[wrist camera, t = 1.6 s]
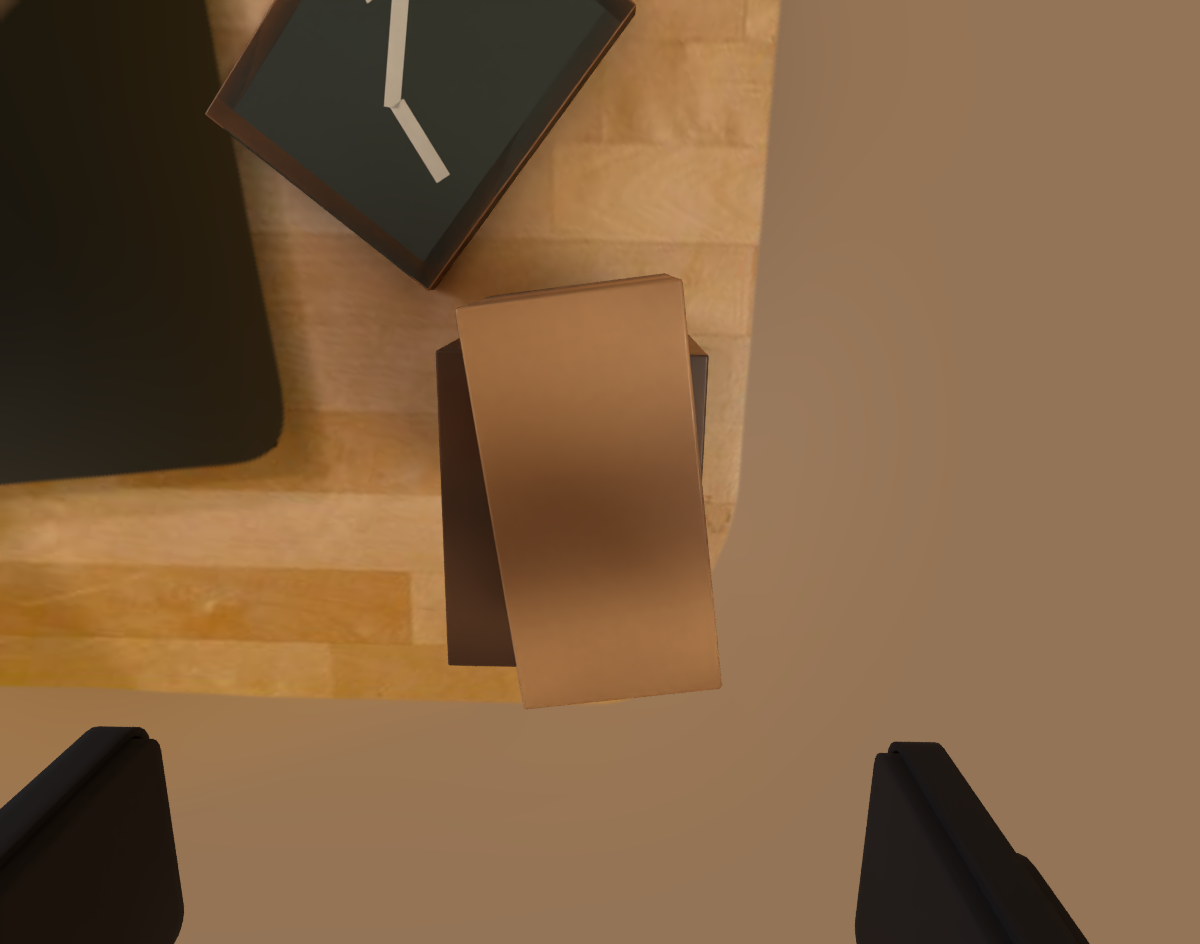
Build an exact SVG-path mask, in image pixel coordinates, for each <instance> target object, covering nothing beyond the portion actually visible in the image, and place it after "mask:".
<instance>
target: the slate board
mask: <svg viewBox="0 0 1200 944" xmlns="http://www.w3.org/2000/svg"><path fill="white" fill-rule="evenodd" d="M635 11H636V5H635V4H634V3H633V2H632V1H631V0H275V1H274V2H273V4H272V6H271V7H270V9H269V11H268V12H267V14H266V16H265V17H264V19H263V20H262V22H261V24H260V25H259V27H258V29H257V30H256V32H255V33H254V35H253V37H252V38H251V40H250V42H249V43H248V45H247V46H246V48H245V50H244V51H243V53H242V55H241V56H240V58H239V60H238V61H237V63H236V64H235V66H234V68H233V69H232V71H231V73H230V74H229V76H228V77H227V79H226V81H225V82H224V84H223V86H222V87H221V89H220V90H219V92H218V94H217V95H216V97H215V99H214V100H213V102H212V104H211V106H210V107H209V108H208V110H207V112H206V115H207V116H208V117H209V118H211V119H212V120H213V121H214V122H216V123H217V124H218V125H219V126H221V127H222V128H223V129H224V130H226V131H227V132H228V133H229V134H231V135H232V136H233V137H235V138H236V139H237V140H238V141H240V142H241V143H242V144H243V145H245V146H246V147H247V148H248V149H250V150H251V151H252V152H253V153H255V154H256V155H257V156H259V157H260V158H261V159H262V160H264V161H265V162H266V163H267V164H269V165H270V166H271V167H272V168H274V169H275V170H276V171H277V172H279V173H280V174H281V175H282V176H284V177H285V178H286V179H288V180H289V181H290V182H291V183H293V184H294V185H295V186H296V187H298V188H299V189H300V190H301V191H303V192H304V193H305V194H306V195H308V196H309V197H310V198H312V199H313V200H314V201H315V202H317V203H318V204H319V205H320V206H322V207H323V208H324V209H325V210H327V211H328V212H329V213H330V214H332V215H333V216H334V217H336V218H337V219H338V220H339V221H341V222H342V223H343V224H344V225H346V226H347V227H348V228H349V229H351V230H352V231H353V232H354V233H356V234H357V235H358V236H360V237H361V238H362V239H363V240H365V241H366V242H367V243H368V244H370V245H371V246H372V247H373V248H375V249H376V250H377V251H378V252H380V253H381V254H382V255H384V256H385V257H386V258H387V259H389V260H390V261H391V262H392V263H394V264H395V265H396V266H397V267H399V268H400V269H401V270H402V271H404V272H405V273H406V274H407V275H409V276H410V277H411V278H412V279H414V280H415V281H416V282H417V283H419V284H420V285H421V286H423V287H424V288H425V289H426V290H428V291H430V290H434V289H435V288H436V286H437V285H438V284H439V282H440V281H441V280H442V278H443V277H444V276H445V274H446V273H447V271H448V270H449V269H450V267H451V266H452V265H453V263H454V262H455V260H456V259H457V258H458V256H459V255H460V254H461V252H462V251H463V249H464V248H465V247H466V245H467V244H468V243H469V241H470V240H471V239H472V237H473V236H474V234H475V233H476V232H477V230H478V229H479V228H480V226H481V225H482V223H483V222H484V221H485V219H486V218H487V217H488V215H489V214H490V212H491V211H492V210H493V208H494V207H495V206H496V204H497V203H498V201H499V200H500V199H501V197H502V196H503V195H504V193H505V192H506V191H507V189H508V188H509V186H510V185H511V184H512V182H513V181H514V180H515V178H516V177H517V175H518V174H519V173H520V171H521V170H522V169H523V167H524V166H525V164H526V163H527V162H528V160H529V159H530V158H531V156H532V155H533V154H534V152H535V151H536V149H537V148H538V147H539V145H540V144H541V143H542V141H543V140H544V138H545V137H546V136H547V134H548V133H549V132H550V130H551V129H552V127H553V126H554V125H555V123H556V122H557V121H558V119H559V118H560V117H561V115H562V114H563V112H564V111H565V110H566V108H567V107H568V106H569V104H570V103H571V101H572V100H573V99H574V97H575V96H576V95H577V93H578V92H579V90H580V89H581V88H582V86H583V85H584V84H585V82H586V81H587V79H588V78H589V77H590V75H591V74H592V73H593V71H594V70H595V69H596V67H597V66H598V64H599V63H600V62H601V60H602V59H603V58H604V56H605V55H606V53H607V52H608V51H609V49H610V48H611V47H612V45H613V44H614V42H615V41H616V40H617V38H618V37H619V36H620V34H621V33H622V32H623V30H624V29H625V27H626V26H627V25H628V23H629V22H630V21H631V19H632V18H633V16H634V15H635Z"/></svg>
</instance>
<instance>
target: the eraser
mask: <svg viewBox="0 0 1200 944" xmlns="http://www.w3.org/2000/svg"><path fill="white" fill-rule="evenodd" d="M455 314H456V319H457V325H458V331H459V337H460V342H461V348H462V354H463V360H464V366H465V371H466V377H467V383H468V389H469V394H470V400H471V406H472V412H473V418H474V423H475V429H476V435H477V441H478V446H479V452H480V458H481V464H482V470H483V475H484V481H485V487H486V493H487V498H488V504H489V510H490V516H491V522H492V527H493V533H494V539H495V545H496V550H497V556H498V562H499V568H500V574H501V579H502V585H503V591H504V597H505V602H506V608H507V614H508V620H509V625H510V631H511V637H512V643H513V649H514V654H515V660H516V666H517V672H518V677H519V683H520V689H521V695H522V701H523V706H524V708H525V709H532V708H541V707H551V706H561V705H570V704H580V703H589V702H599V701H608V700H618V699H627V698H637V697H646V696H655V695H664V694H674V693H683V692H693V691H702V690H712V689H719V688H721V686H722V683H721V673H720V663H719V653H718V642H717V632H716V621H715V611H714V601H713V591H712V580H711V570H710V559H709V549H708V539H707V528H706V518H705V508H704V498H703V487H702V477H701V467H700V456H699V446H698V436H697V425H696V415H695V405H694V395H693V384H692V374H691V364H690V353H689V343H688V333H687V322H686V312H685V302H684V291H683V282H682V280H680V279H678V278H675V277H672V276H670V275H668V274H656V275H648V276H641V277H633V278H626V279H618V280H610V281H603V282H595V283H587V284H580V285H572V286H564V287H557V288H549V289H541V290H534V291H526V292H518V293H511V294H503V295H495V296H490V297H487V298H484V299H481V300H478V301H476V302H473V303H470V304H467V305H464V306H462V307H459V308H457V309H456V311H455Z"/></svg>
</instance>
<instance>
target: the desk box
mask: <svg viewBox="0 0 1200 944" xmlns="http://www.w3.org/2000/svg"><path fill="white" fill-rule="evenodd" d="M688 343H689V353H690V364H691V374H692V384H693V395H694V405H695V415H696V425H697V436H698V446H699V456H700V467H701V477H702V473H703V454H704V435H705V416H706V396H707V377H708V358H709V357H708V355H707V354H706V353H705V352H704V351H703V350H702V349H701V348H700V347H699V346H698V345H697V343H696V342H695V341H694V340H693V339H692V338H691V337H690V336H689V335H688ZM436 372H437V397H438V422H439V447H440V471H441V496H442V521H443V546H444V571H445V596H446V620H447V645H448V664H449V665H459V666H508V667H517V666H516V660H515V654H514V649H513V643H512V637H511V631H510V625H509V620H508V614H507V608H506V602H505V597H504V591H503V585H502V579H501V574H500V568H499V562H498V556H497V550H496V545H495V539H494V533H493V527H492V522H491V516H490V510H489V504H488V498H487V493H486V487H485V481H484V475H483V470H482V464H481V458H480V452H479V446H478V441H477V435H476V429H475V423H474V418H473V412H472V406H471V400H470V394H469V389H468V383H467V377H466V371H465V366H464V360H463V354H462V348H461V342H460V338H459V339H457V340H455V341H453V342H451V343H450V344H448V345H446V346H444V347H442V348H441V349H439V350H437V351H436Z"/></svg>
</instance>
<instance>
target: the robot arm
mask: <svg viewBox="0 0 1200 944" xmlns="http://www.w3.org/2000/svg"><path fill="white" fill-rule="evenodd" d="M162 761H163V760H162V754H161V748H160V745H159V743H158V742H157V741H156V740H154V739H149V736H148V734H147V732H146V731H145V729H142V728H140V727H102V726H101V727H100V726H99V727H93V728H91V729H90V730H88V731H87V732H85V733H84V734H83V735H82V736H81V737H80V738H79V739H78V740H76V741H75V742H74V743H73V744H72V745H71V746H70V747H69V748H68V749H66V750H65V751H64V752H63V753H62V754H61V755H60V756H59V757H58V758H56V760H54V761H53V762H52V763H51V764H50V765H49V766H48V767H47V768H45V769H44V770H43V771H42V772H41V773H40V774H39V775H38V776H37V777H36V778H34V779H33V780H32V781H31V782H30V783H29V784H28V785H27V786H25V787H24V788H23V789H22V790H21V791H20V792H19V793H18V794H17V795H15V796H14V797H13V798H12V799H11V800H10V801H9V802H8V803H7V804H6V805H4V806H3V807H2V808H1V809H0V944H174V943H175V941H176V939H177V937H178V935H179V932H180V930H181V926H182V922H183V916H184V904H183V897H182V890H181V883H180V877H179V870H178V863H177V856H176V850H175V842H174V836H173V829H172V823H171V816H170V808H169V802H168V795H167V788H166V781H165V774H164V767H163V762H162ZM855 935H856V942H857V944H1089V942H1088V941H1087V939H1086V938H1085V937H1084V935H1083V934H1082V932H1081V931H1080V929H1079V928H1078V927H1077V925H1076V924H1075V922H1074V921H1073V919H1072V918H1071V917H1070V915H1069V914H1068V912H1067V911H1066V910H1065V908H1064V907H1063V905H1062V904H1061V902H1060V901H1059V900H1058V898H1057V897H1056V895H1055V894H1054V893H1053V891H1052V890H1051V888H1050V887H1049V886H1048V884H1047V883H1046V881H1045V880H1044V879H1043V877H1042V876H1041V874H1040V873H1039V871H1038V870H1037V869H1036V867H1035V866H1034V865H1033V864H1032V863H1031V862H1030V861H1029V859H1028V858H1027V857H1025V856H1023V855H1021V854H1019V853H1016V852H1015V851H1014V849H1013V848H1012V846H1011V845H1010V844H1009V842H1008V841H1007V839H1006V838H1005V836H1004V835H1003V833H1002V832H1001V830H1000V829H999V827H998V826H997V825H996V823H995V822H994V820H993V819H992V817H991V816H990V814H989V813H988V812H987V810H986V809H985V807H984V806H983V804H982V803H981V801H980V800H979V798H978V797H977V796H976V794H975V793H974V791H973V790H972V789H971V787H970V786H969V784H968V783H967V781H966V780H965V778H964V777H963V775H962V774H961V773H960V771H959V770H958V768H957V767H956V765H955V764H954V762H953V761H952V759H951V758H950V757H949V755H948V754H947V752H946V751H945V749H944V748H943V747H942V746H941V745H940V744H939V743H935V742H893V743H891V745H890V747H889V749H888V753H879V754H877V756H876V758H875V762H874V769H873V777H872V785H871V793H870V802H869V810H868V819H867V827H866V836H865V844H864V852H863V860H862V868H861V877H860V885H859V893H858V901H857V910H856V919H855Z"/></svg>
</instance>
